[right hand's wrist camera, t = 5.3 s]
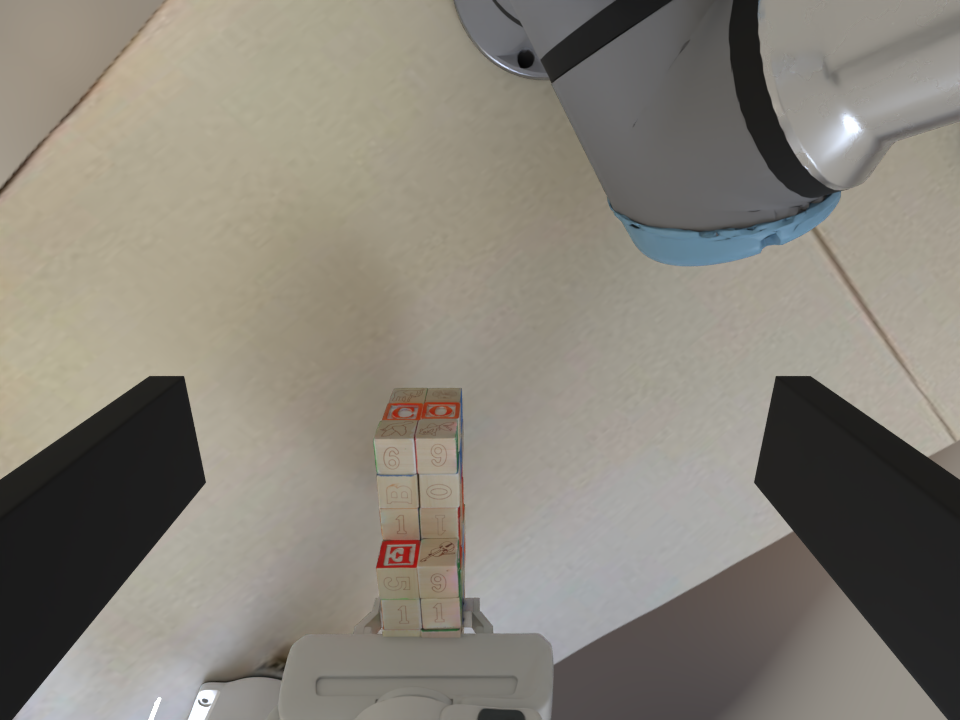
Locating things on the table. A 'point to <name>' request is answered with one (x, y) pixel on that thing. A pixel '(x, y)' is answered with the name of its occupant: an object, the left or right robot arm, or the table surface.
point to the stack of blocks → (421, 513)
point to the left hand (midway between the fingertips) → (428, 603)
